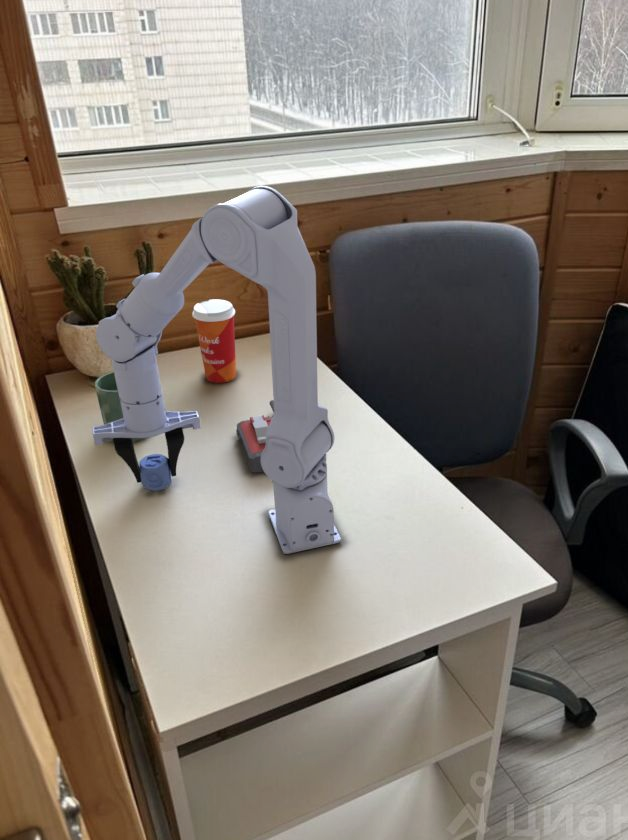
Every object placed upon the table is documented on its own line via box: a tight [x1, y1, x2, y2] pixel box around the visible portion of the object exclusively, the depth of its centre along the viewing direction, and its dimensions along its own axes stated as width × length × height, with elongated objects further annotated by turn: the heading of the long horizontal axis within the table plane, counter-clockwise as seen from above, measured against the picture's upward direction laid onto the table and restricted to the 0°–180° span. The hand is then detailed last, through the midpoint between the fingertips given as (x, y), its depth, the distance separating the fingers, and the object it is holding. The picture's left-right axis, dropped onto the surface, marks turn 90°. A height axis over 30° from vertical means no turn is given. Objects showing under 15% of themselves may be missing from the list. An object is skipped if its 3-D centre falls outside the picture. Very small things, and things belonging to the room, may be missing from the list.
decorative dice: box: [138, 453, 172, 492], centre depth 107 cm, size 4×4×4 cm
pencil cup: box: [94, 371, 144, 443], centre depth 118 cm, size 7×7×10 cm
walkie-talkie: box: [235, 399, 274, 474], centre depth 117 cm, size 9×4×20 cm
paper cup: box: [191, 298, 237, 384], centre depth 133 cm, size 8×8×14 cm
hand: (156, 475), depth 107 cm, fingers closed on decorative dice, 4 cm apart
